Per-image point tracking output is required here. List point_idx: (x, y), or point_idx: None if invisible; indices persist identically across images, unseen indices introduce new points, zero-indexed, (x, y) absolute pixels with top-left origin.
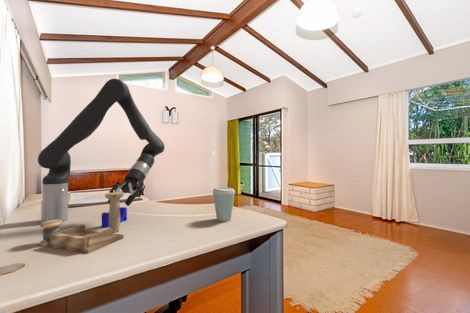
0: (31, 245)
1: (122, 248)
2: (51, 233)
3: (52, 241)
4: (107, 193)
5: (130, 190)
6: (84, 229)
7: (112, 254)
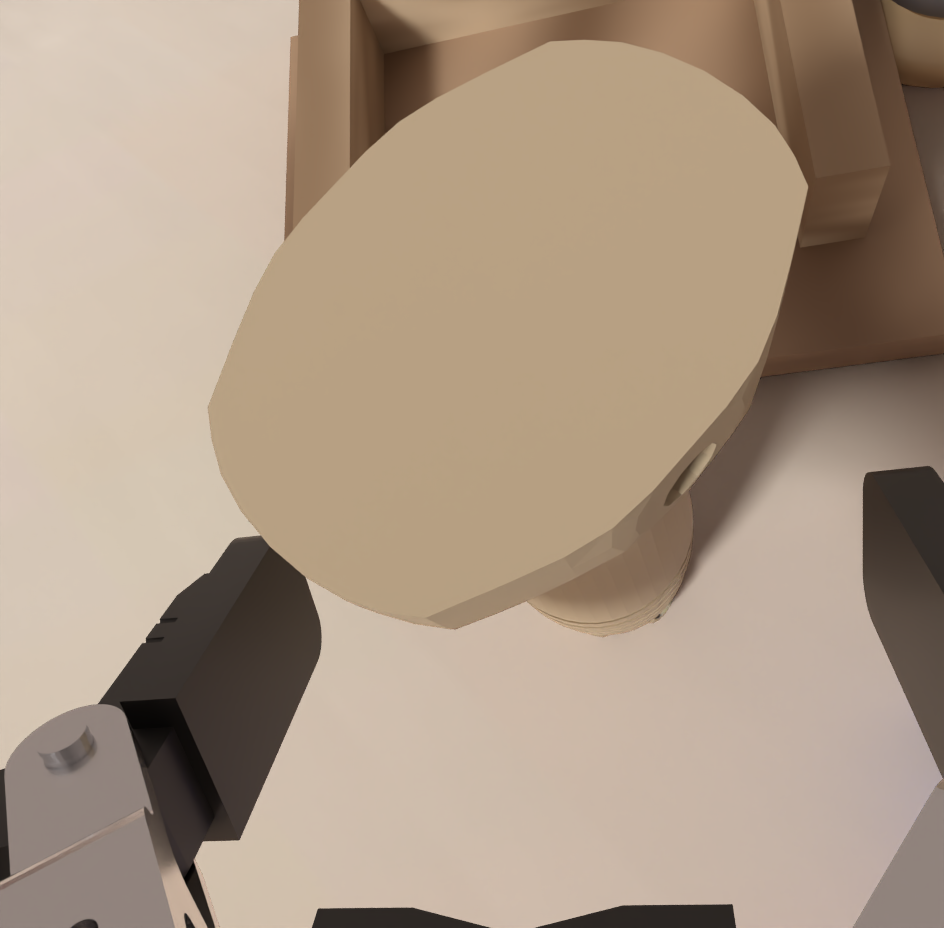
0: None
1: (117, 250)
2: None
3: None
4: (736, 165)
5: (99, 830)
6: (807, 209)
7: (113, 143)
